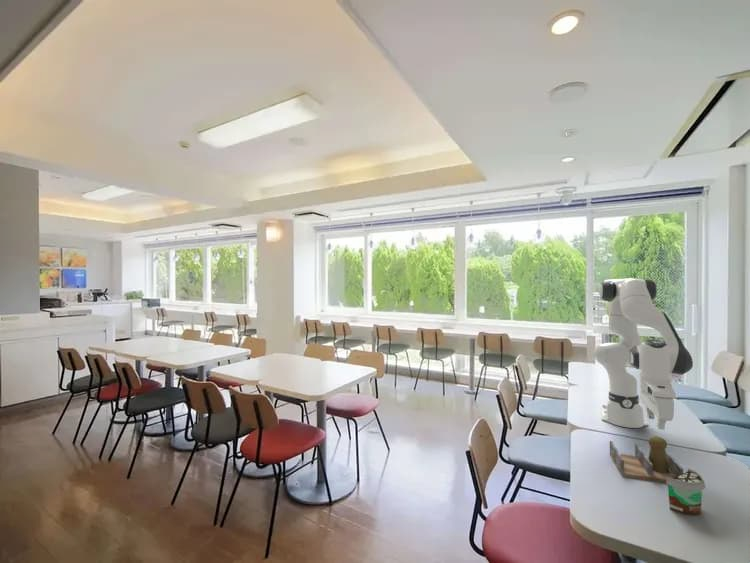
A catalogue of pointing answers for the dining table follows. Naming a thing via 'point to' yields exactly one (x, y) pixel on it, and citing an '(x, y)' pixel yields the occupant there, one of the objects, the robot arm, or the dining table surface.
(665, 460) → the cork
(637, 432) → the dining table surface
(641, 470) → the slot rack
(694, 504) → the food container
